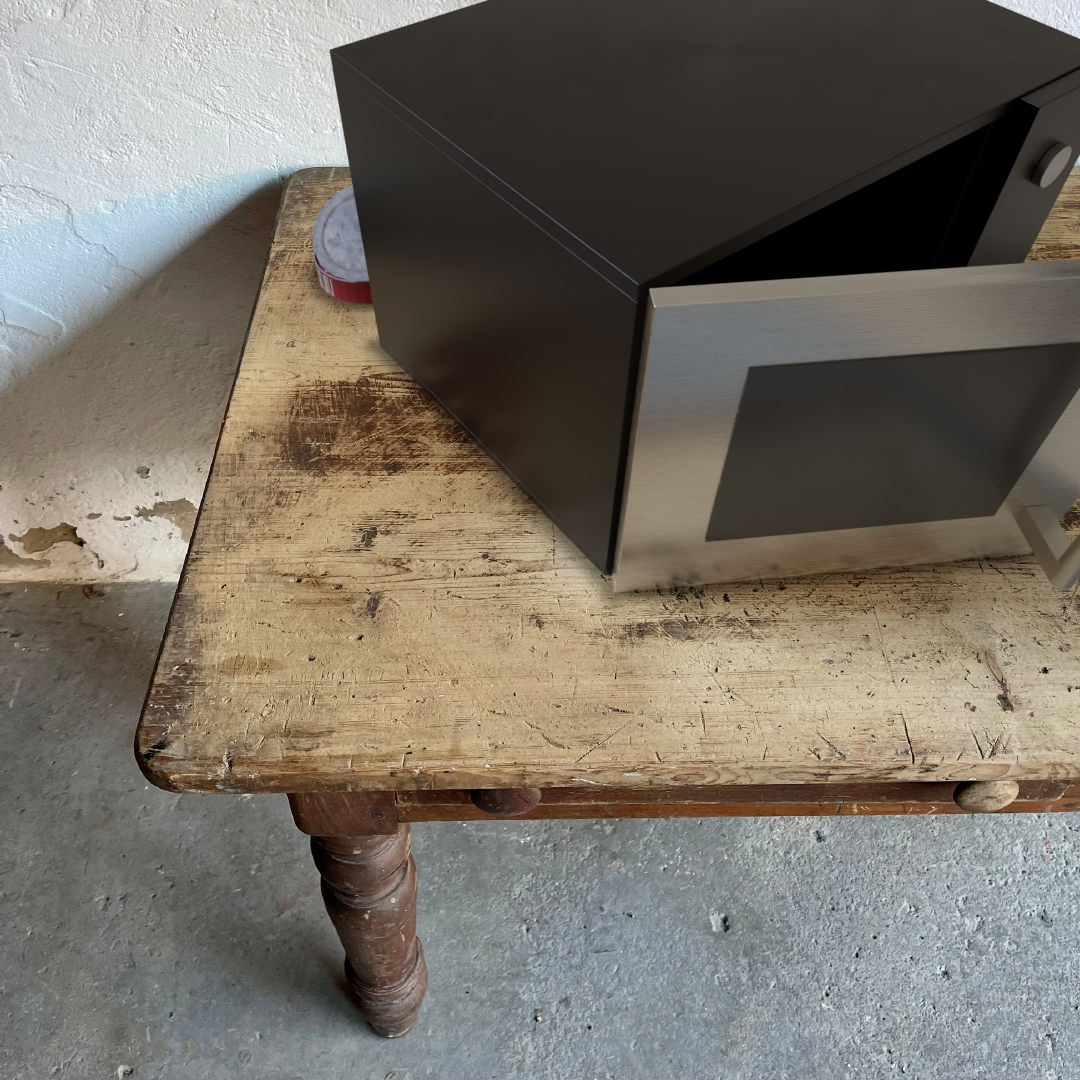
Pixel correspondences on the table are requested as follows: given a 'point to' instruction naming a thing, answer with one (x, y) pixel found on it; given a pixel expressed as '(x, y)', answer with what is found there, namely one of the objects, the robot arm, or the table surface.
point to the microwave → (671, 188)
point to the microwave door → (854, 425)
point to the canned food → (341, 250)
